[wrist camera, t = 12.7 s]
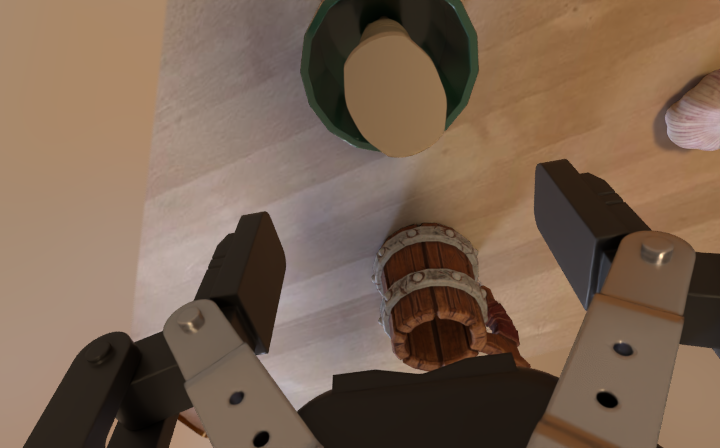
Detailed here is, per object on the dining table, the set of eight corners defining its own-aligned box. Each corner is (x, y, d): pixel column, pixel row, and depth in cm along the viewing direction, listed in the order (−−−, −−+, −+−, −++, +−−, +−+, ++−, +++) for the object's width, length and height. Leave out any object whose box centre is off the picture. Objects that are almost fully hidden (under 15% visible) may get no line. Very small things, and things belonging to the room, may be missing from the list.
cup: (298, -24, 33) (278, -6, 24) (444, -58, 31) (473, -51, 23) (332, 113, 39) (325, 164, 31) (454, 89, 38) (481, 135, 29)
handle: (373, 86, 37) (380, 170, 24) (337, 13, 33) (324, 65, 21) (425, 60, 35) (461, 134, 23) (394, -19, 32) (415, 17, 20)
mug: (387, 202, 44) (430, 316, 32) (501, 226, 49) (574, 333, 37) (350, 281, 50) (374, 401, 39) (453, 295, 55) (503, 406, 43)
